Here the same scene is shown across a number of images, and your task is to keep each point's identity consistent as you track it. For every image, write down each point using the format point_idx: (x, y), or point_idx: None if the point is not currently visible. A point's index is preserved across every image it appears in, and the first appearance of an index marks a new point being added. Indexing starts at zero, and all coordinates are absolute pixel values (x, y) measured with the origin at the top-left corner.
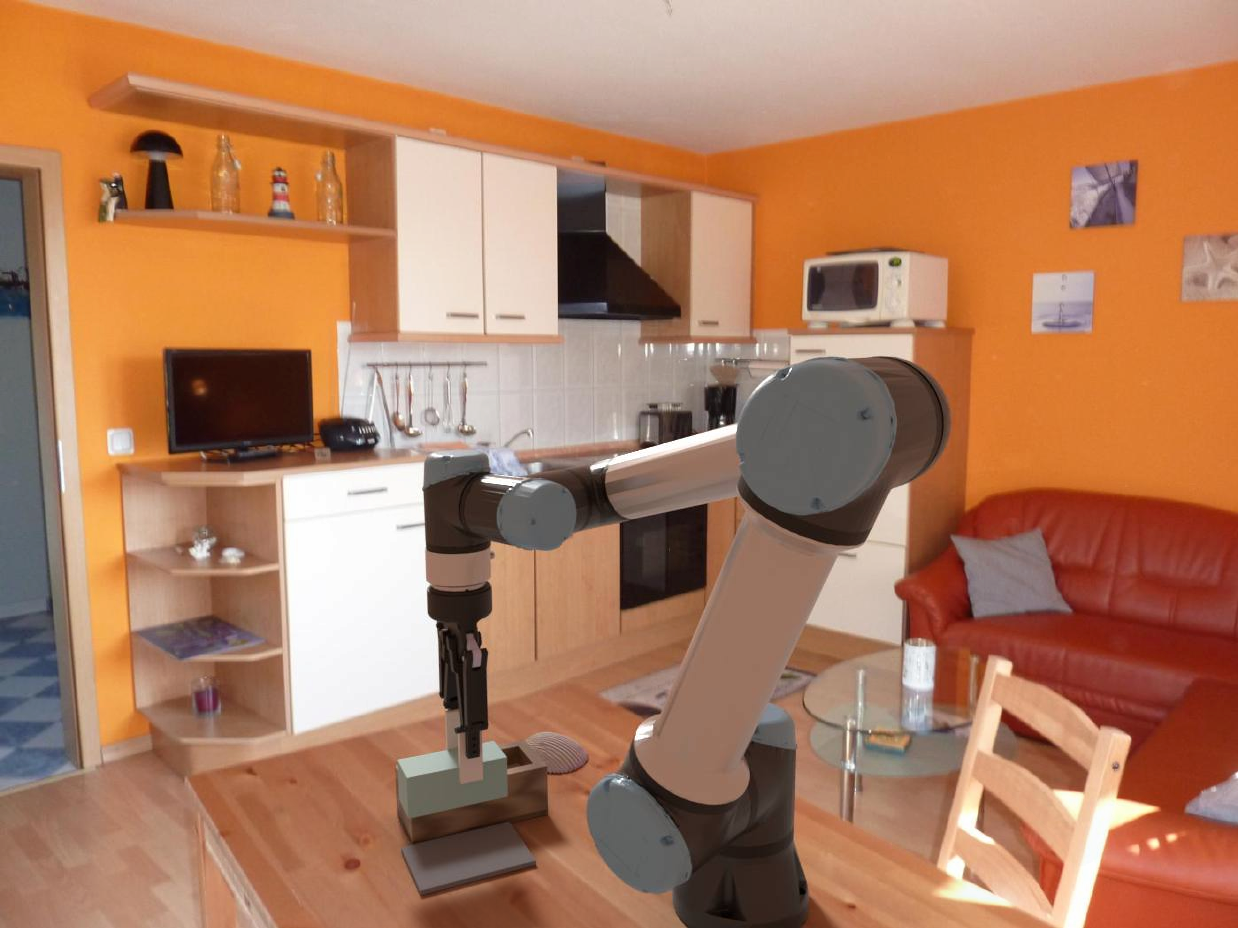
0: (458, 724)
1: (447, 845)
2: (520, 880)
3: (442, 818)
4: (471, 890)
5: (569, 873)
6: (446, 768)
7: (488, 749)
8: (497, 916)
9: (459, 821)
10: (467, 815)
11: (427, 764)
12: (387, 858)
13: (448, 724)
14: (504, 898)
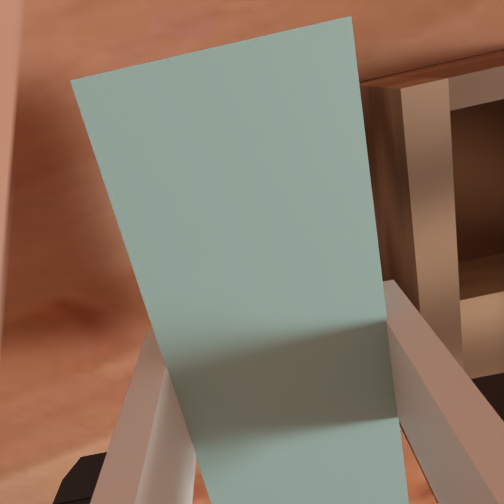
0: (449, 481)
1: None
2: (139, 325)
3: (376, 181)
4: (116, 223)
5: None
6: (159, 308)
7: (325, 488)
8: (10, 270)
9: (376, 222)
10: (381, 248)
11: (231, 211)
12: (311, 8)
13: (449, 436)
14: (76, 289)
